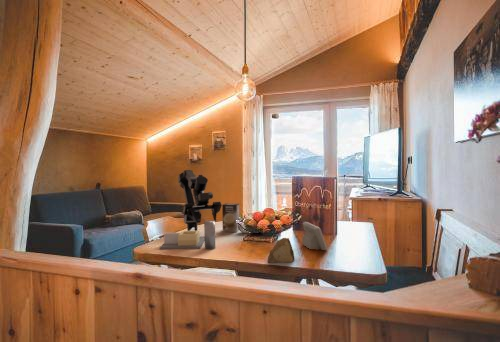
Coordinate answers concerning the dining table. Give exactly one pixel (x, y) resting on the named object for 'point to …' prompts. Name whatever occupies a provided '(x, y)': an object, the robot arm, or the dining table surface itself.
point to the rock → (282, 251)
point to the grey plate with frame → (183, 240)
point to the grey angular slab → (313, 237)
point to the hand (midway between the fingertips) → (206, 221)
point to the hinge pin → (209, 234)
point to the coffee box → (230, 217)
